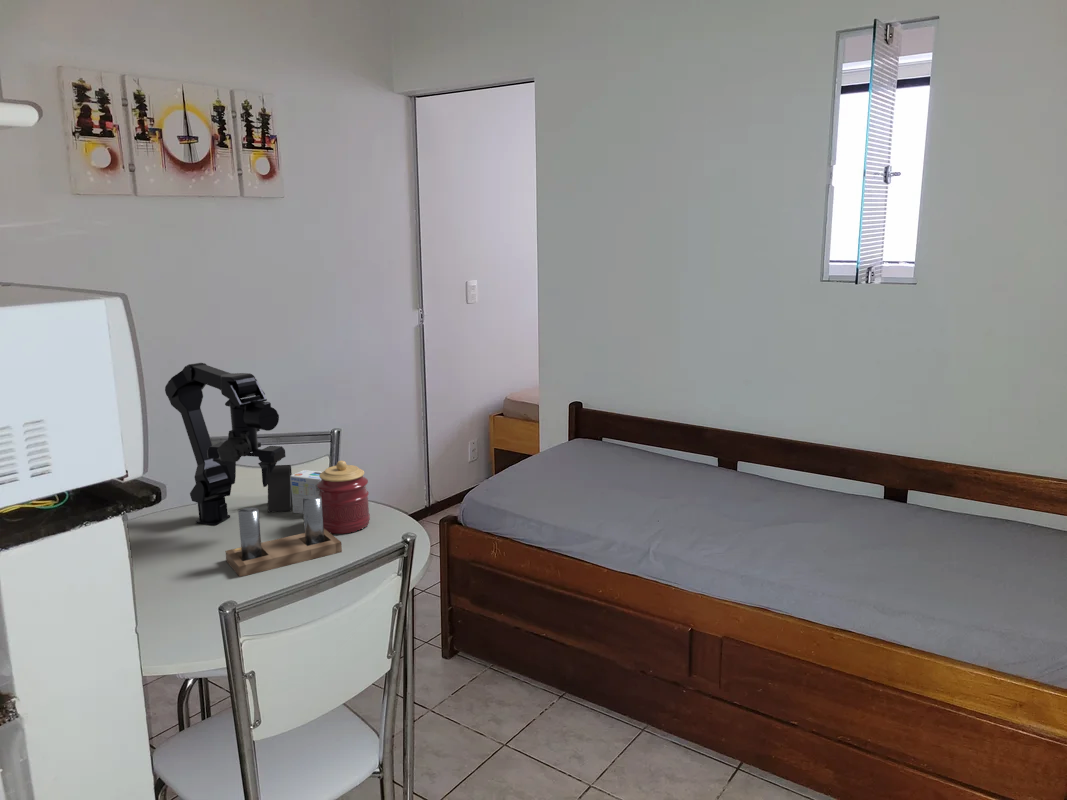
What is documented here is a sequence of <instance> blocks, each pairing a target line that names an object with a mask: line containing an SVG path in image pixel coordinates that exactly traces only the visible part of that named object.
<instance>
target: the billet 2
mask: <svg viewBox="0 0 1067 800" xmlns="http://www.w3.org/2000/svg"><path fill="white" fill-rule="evenodd" d="M303 513H304V514H303V525H304V533H305V542H306V545H307V546H309V545H314V544H318V543H322V542H324V527H323V512H322V497H321V496H319V495H309V496H306V497H304V498H303Z"/></svg>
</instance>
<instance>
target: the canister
mask: <svg viewBox="0 0 1067 800" xmlns="http://www.w3.org/2000/svg"><path fill="white" fill-rule="evenodd" d="M336 462H337V463H336V465H332V466H330V467H328V468H326V469H324V470H323V471H321V472H322V473H321V474H320V475H319V476H320V478H321V480H320V481H319V482H318V483H317V487H318V488H319V496H321V497H322V512H323V527H324V529H326V530H327V531H328V532H329V533H331V534H341V535H342V534H344V535H345V534H350V533H351V532H352V533H356V532H358V531H357V530H359V531H361V530H360V529H362V528H364V527H366V526H367V525H368V524H369V525H370V520H371V517H370V516H371V515H370V512H369V511H370V508H369V494H370V493H369V491H368V489H367V485H368V483H369V480H368V478H367V477H365V476H364V475H365V471H364V469H361V468H359V467H358V466H357V465H351V464H347V462H346V461H345V460H338V461H336ZM369 525H368V526H369ZM368 526H367V527H368ZM367 527H366V528H367ZM364 529H365V528H364ZM362 530H363V529H362ZM355 531H356V532H355Z"/></svg>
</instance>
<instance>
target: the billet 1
mask: <svg viewBox="0 0 1067 800" xmlns="http://www.w3.org/2000/svg"><path fill="white" fill-rule="evenodd" d="M237 515H238V525H239V537H240V538H239V539H240V547H241V552H242V561H246V560H250V559H254V558H259V557H262V548H261V543H262V536H261V523H260V522H261V521H260V512H259V508H258V507H252V506H251V507H244V508H241V509H239V510H238V511H237Z"/></svg>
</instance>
